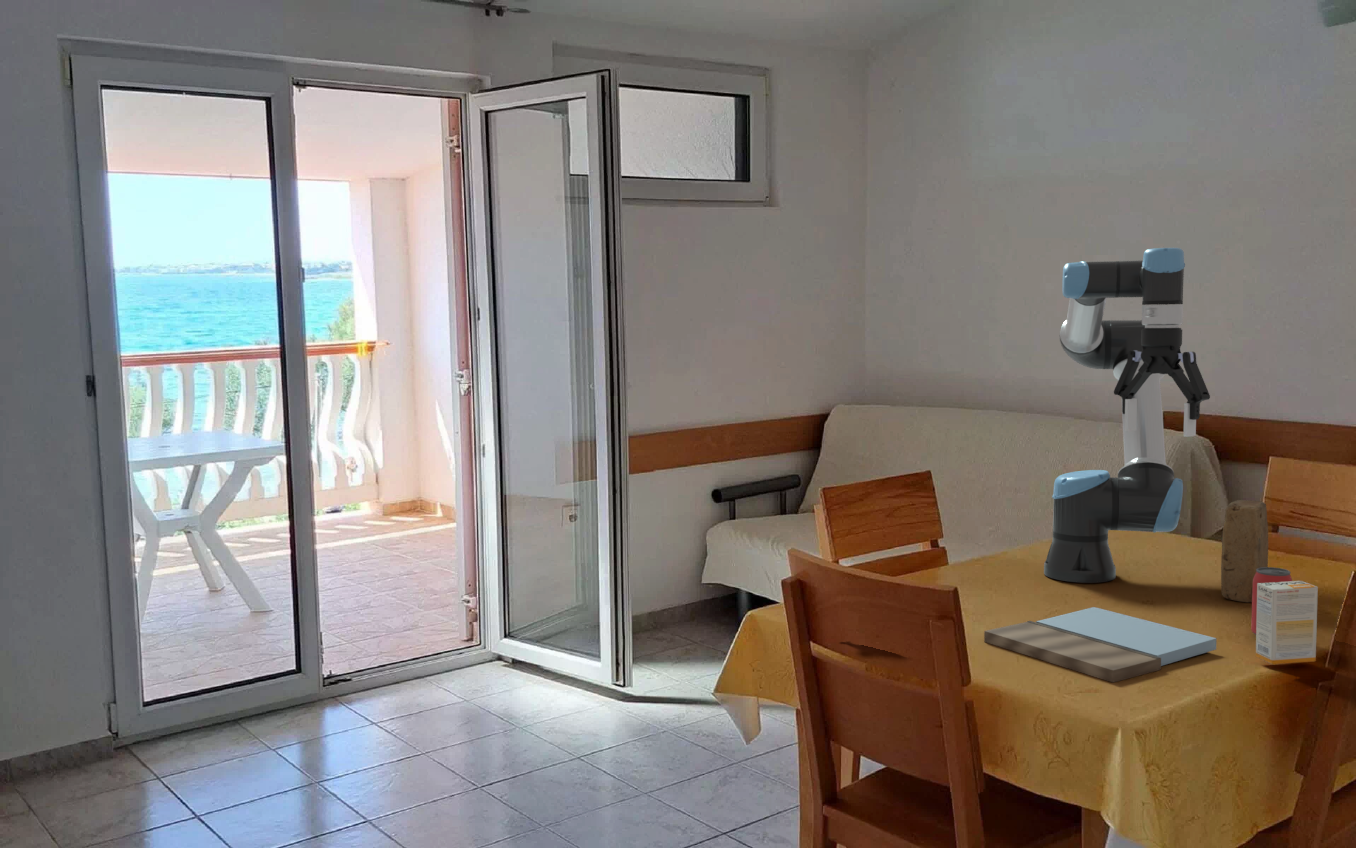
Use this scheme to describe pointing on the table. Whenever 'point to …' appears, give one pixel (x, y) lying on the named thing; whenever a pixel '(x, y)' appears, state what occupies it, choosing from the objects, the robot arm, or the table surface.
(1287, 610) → the supplement box
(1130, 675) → the floor board
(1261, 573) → the beer can
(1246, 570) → the block
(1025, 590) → the table surface
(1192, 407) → the robot arm
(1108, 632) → the plank
